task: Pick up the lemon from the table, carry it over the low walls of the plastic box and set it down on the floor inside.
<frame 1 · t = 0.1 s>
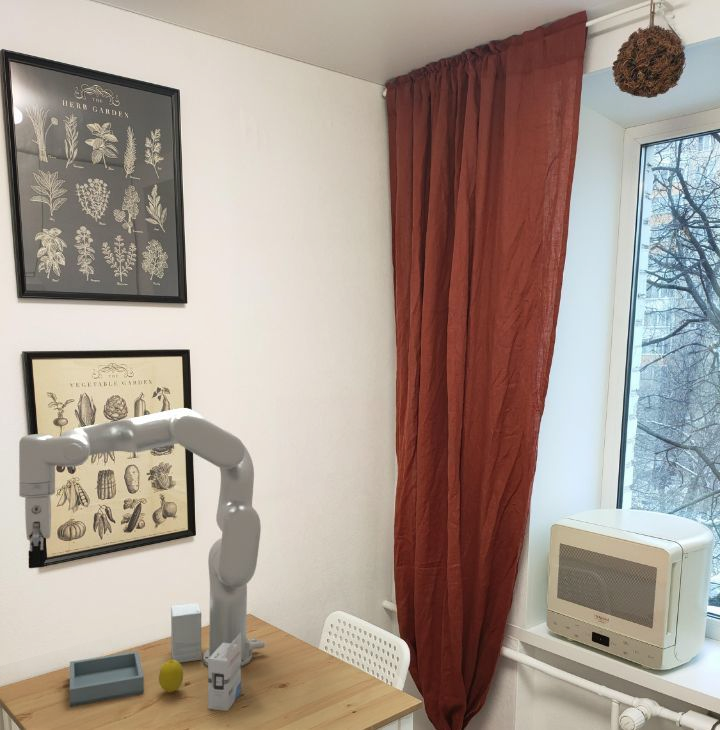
hand: (37, 560, 158), 31 cm above the table, tool pointing down, fingers open, 9 cm apart
supplement box: (185, 656, 178), on the table
ink box: (224, 701, 157), on the table
lemon: (171, 693, 160), on the table
walled box: (105, 685, 162), on the table
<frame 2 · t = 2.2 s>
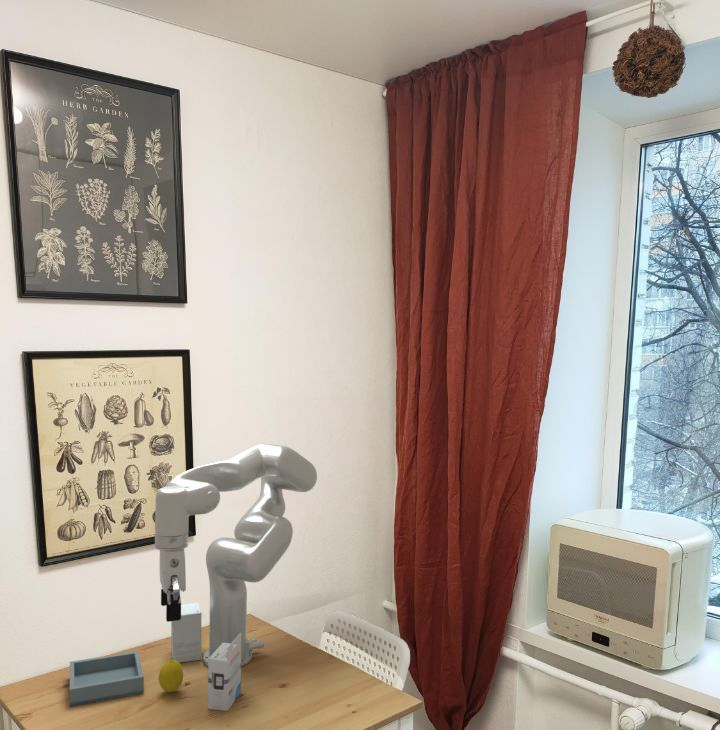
hand: (170, 612, 159), 19 cm above the table, tool pointing down, fingers open, 9 cm apart
nothing on the table moved.
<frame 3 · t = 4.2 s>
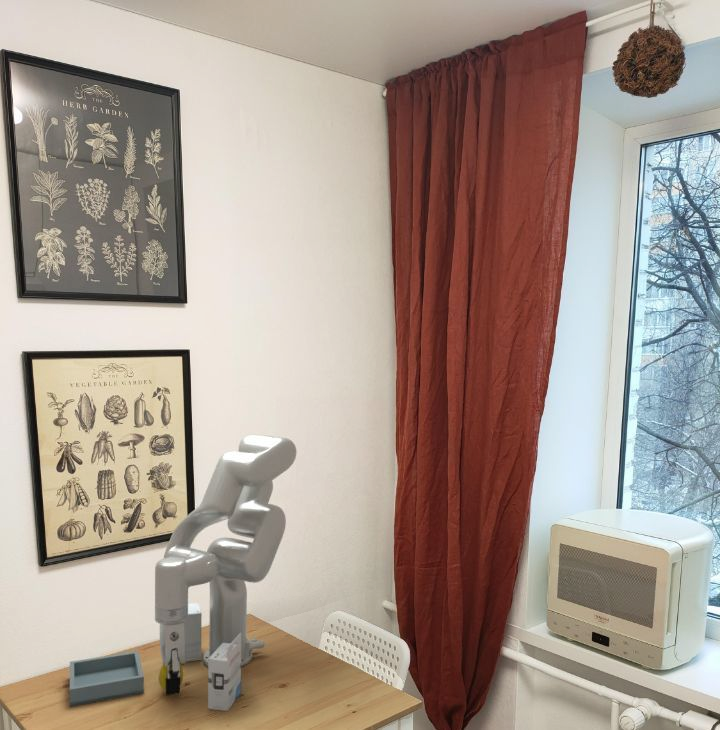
hand: (171, 686, 160), 2 cm above the table, tool pointing down, fingers closed on lemon, 5 cm apart
lemon: (171, 693, 160), on the table, touching gripper
everything else where it was.
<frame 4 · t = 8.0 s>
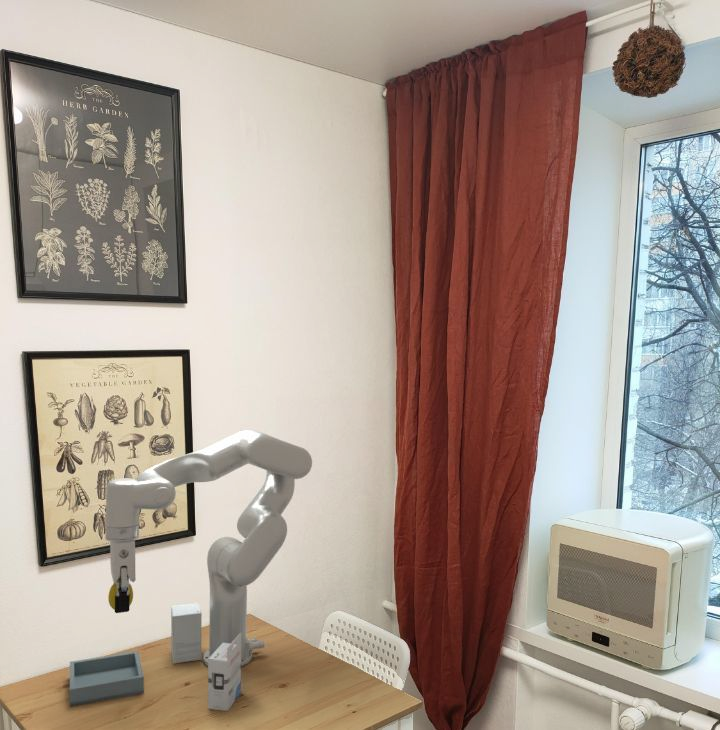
hand: (120, 606, 161), 20 cm above the table, tool pointing down, fingers closed on lemon, 5 cm apart
lemon: (120, 613, 161), point 18 cm above the table, touching gripper
everything else where it was.
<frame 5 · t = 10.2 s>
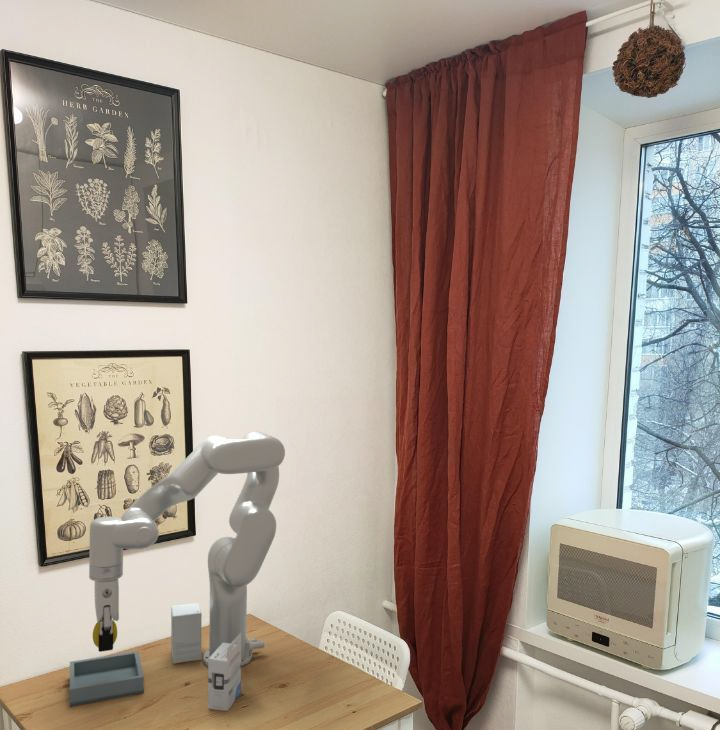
hand: (105, 643, 162), 10 cm above the table, tool pointing down, fingers closed on lemon, 5 cm apart
lemon: (104, 651, 162), point 8 cm above the table, touching gripper
everything else where it was.
when the fingers open (4 cm above the table, at t = 11.8 s): lemon drops 2 cm, resting on walled box.
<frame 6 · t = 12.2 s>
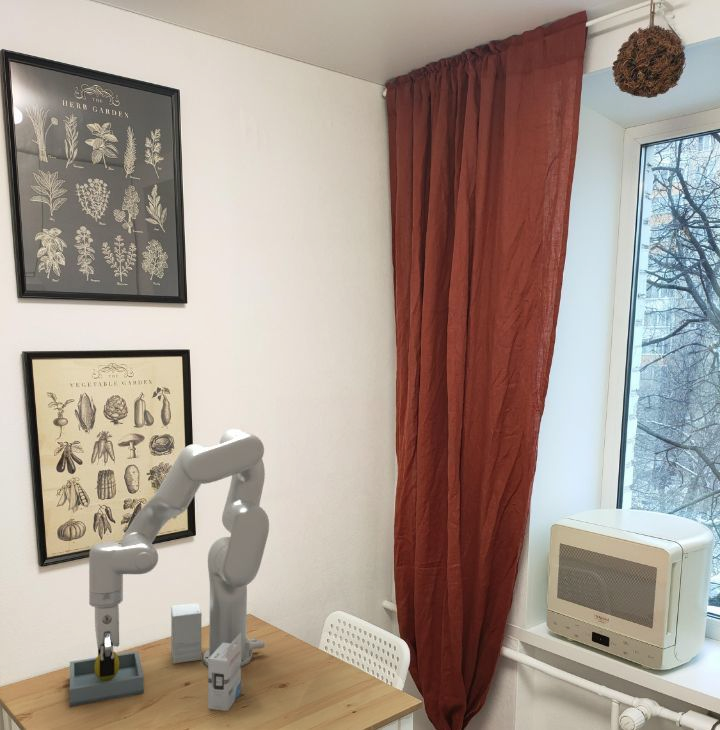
hand: (106, 666, 162), 5 cm above the table, tool pointing down, fingers open, 9 cm apart
lemon: (106, 683, 162), point 1 cm above the table, touching walled box
everything else where it was.
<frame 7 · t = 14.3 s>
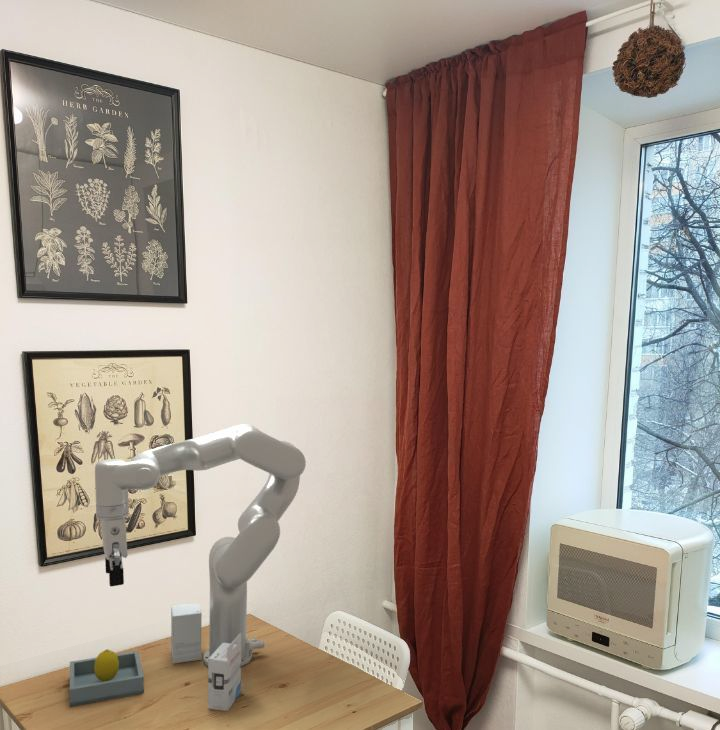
hand: (114, 578, 167), 24 cm above the table, tool pointing down, fingers open, 9 cm apart
nothing on the table moved.
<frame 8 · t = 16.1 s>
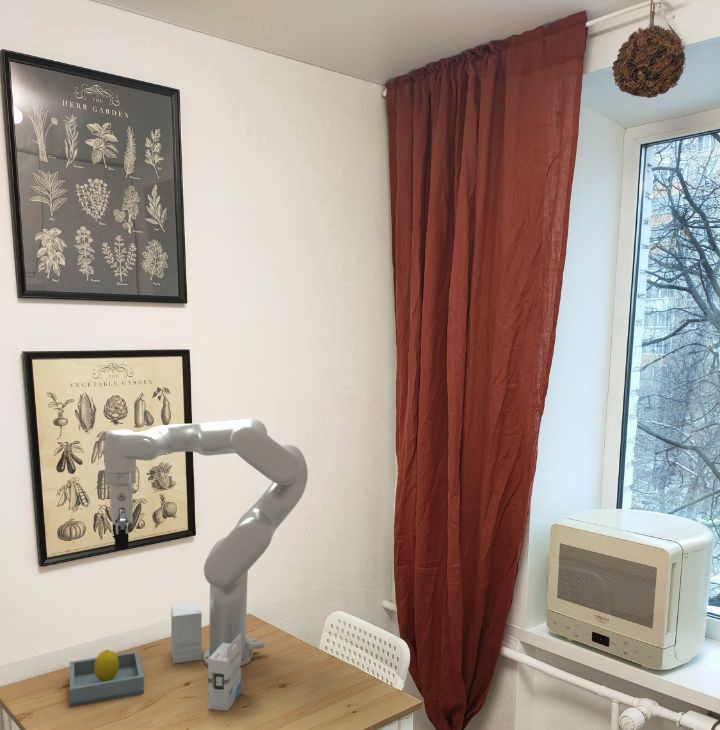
hand: (120, 543, 175), 30 cm above the table, tool pointing down, fingers open, 9 cm apart
nothing on the table moved.
at the end: lemon inside the target area on the walled box (0.2 cm from its centre), point 0.6 cm above the walled box's base; the gripper is holding nothing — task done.
